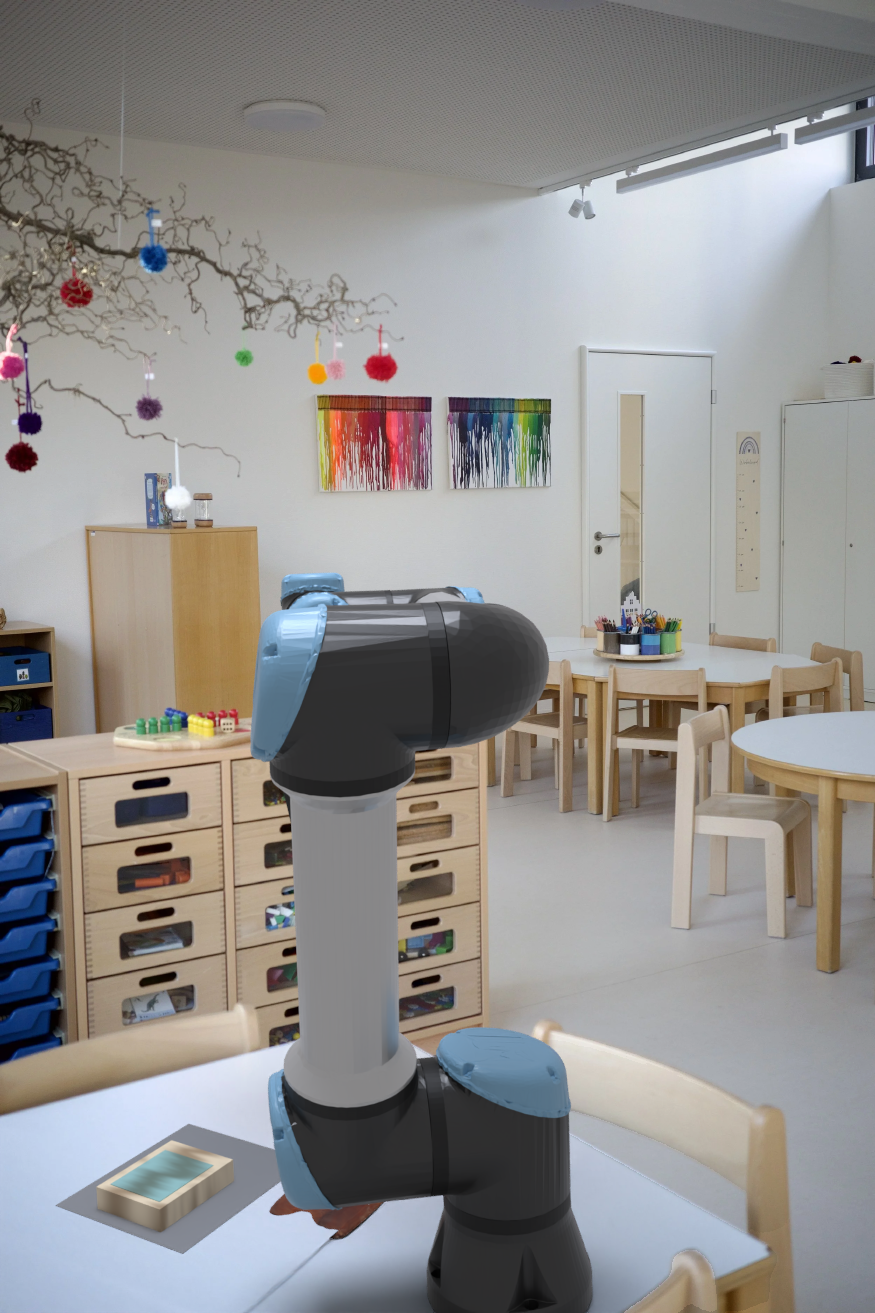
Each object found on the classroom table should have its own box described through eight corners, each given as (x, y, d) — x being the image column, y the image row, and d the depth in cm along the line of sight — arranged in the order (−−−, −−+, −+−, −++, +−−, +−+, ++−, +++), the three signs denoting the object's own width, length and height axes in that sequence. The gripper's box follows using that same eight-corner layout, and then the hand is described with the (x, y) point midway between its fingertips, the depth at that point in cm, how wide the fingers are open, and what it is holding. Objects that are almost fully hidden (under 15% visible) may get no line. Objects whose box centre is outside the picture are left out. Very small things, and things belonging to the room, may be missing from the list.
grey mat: (309, 1165, 133) (309, 1160, 133) (183, 1259, 116) (182, 1253, 116) (188, 1128, 142) (188, 1123, 142) (55, 1211, 125) (55, 1205, 125)
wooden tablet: (344, 1249, 118) (344, 1233, 118) (261, 1226, 122) (260, 1210, 122) (462, 1128, 142) (461, 1114, 141) (388, 1111, 146) (387, 1098, 146)
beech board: (233, 1159, 129) (159, 1209, 119) (234, 1181, 129) (161, 1232, 120) (171, 1139, 133) (96, 1186, 124) (172, 1161, 134) (97, 1209, 124)
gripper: (380, 700, 142) (388, 894, 144) (294, 696, 149) (302, 881, 151) (343, 709, 136) (351, 911, 138) (255, 704, 143) (264, 897, 145)
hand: (326, 895), depth 145 cm, fingers closed
